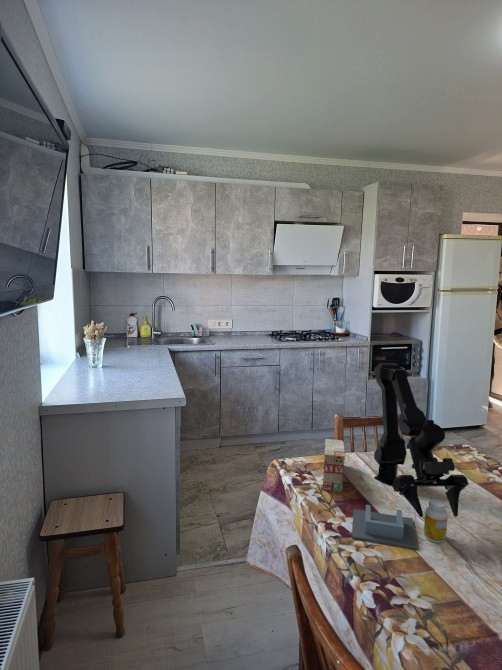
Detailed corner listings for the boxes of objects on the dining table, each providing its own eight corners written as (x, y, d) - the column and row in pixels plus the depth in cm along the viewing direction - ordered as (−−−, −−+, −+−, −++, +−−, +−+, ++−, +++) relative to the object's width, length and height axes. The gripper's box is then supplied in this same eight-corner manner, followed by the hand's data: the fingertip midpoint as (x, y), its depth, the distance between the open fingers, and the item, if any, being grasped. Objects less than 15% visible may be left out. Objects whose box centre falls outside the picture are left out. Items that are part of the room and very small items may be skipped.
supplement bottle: (419, 531, 117) (422, 497, 116) (438, 531, 117) (442, 497, 116) (429, 543, 112) (432, 508, 110) (449, 543, 112) (453, 507, 111)
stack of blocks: (323, 463, 159) (325, 430, 158) (341, 464, 158) (343, 432, 157) (322, 490, 138) (324, 453, 137) (342, 493, 137) (344, 455, 136)
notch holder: (353, 510, 126) (354, 497, 126) (412, 520, 122) (413, 506, 122) (351, 538, 113) (352, 523, 112) (417, 549, 109) (418, 534, 108)
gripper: (400, 446, 115) (415, 507, 105) (468, 446, 116) (489, 506, 107) (386, 462, 124) (399, 520, 114) (450, 462, 125) (468, 519, 115)
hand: (439, 516), depth 112 cm, fingers open, 9 cm apart
